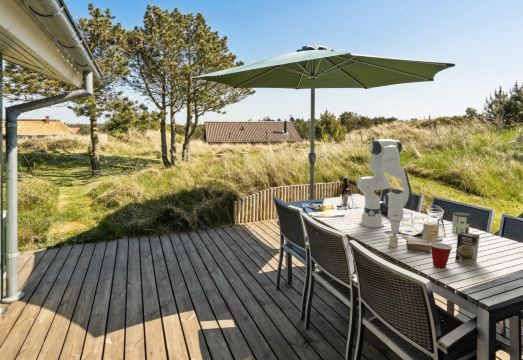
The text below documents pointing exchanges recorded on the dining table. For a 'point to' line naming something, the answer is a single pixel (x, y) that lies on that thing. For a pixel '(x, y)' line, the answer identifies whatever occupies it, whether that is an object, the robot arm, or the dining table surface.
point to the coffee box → (467, 248)
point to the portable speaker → (383, 209)
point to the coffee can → (460, 222)
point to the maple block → (393, 241)
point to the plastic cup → (440, 254)
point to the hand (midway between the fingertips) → (394, 236)
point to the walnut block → (418, 245)
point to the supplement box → (431, 232)
